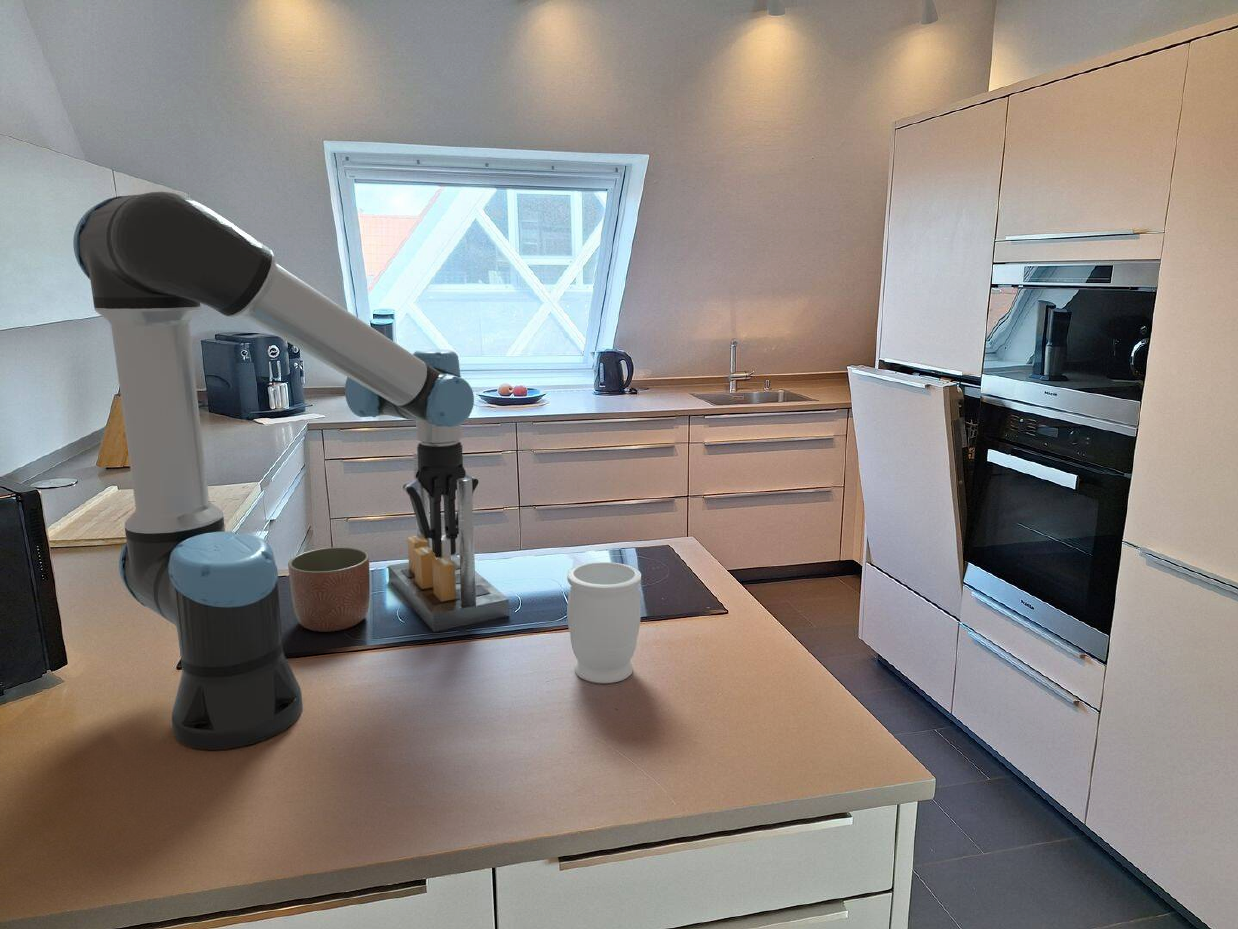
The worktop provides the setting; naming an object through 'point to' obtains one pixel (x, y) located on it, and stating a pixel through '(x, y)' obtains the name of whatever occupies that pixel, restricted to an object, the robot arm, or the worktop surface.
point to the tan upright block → (424, 567)
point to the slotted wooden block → (444, 579)
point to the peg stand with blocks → (471, 589)
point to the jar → (603, 619)
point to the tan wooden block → (413, 544)
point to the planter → (330, 587)
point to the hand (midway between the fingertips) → (445, 572)
